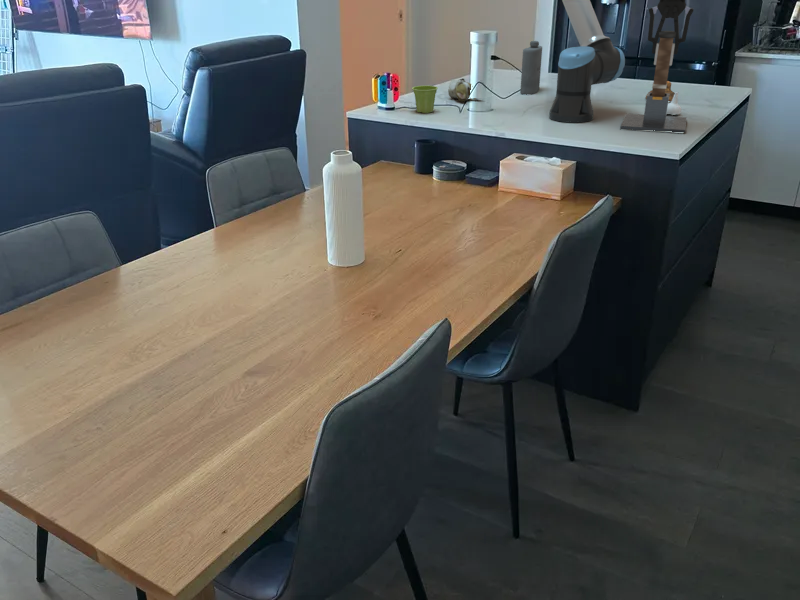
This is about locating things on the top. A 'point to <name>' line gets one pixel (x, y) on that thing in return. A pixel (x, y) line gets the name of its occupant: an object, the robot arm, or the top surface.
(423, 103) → the plant pot
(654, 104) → the sleeve stand
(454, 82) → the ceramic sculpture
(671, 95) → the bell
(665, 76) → the post
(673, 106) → the garlic bulb
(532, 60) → the flask
